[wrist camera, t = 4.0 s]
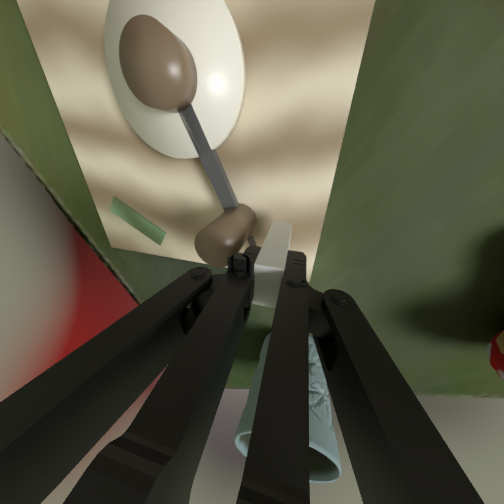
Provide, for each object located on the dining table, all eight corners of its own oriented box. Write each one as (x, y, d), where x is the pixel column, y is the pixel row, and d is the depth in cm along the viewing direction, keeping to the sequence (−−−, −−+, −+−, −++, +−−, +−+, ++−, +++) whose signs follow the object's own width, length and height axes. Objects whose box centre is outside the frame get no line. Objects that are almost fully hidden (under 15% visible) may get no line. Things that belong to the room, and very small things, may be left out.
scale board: (27, -45, 14) (-15, -73, 12) (398, -126, 9) (421, -193, 7) (123, 240, 26) (109, 247, 24) (309, 271, 21) (309, 283, 19)
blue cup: (259, 360, 32) (238, 460, 22) (258, 317, 27) (228, 421, 17) (323, 374, 29) (332, 493, 19) (333, 330, 25) (352, 459, 14)
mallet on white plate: (94, 40, 14) (-29, -21, 9) (201, -86, 10) (92, -327, 5) (206, 245, 20) (172, 279, 15) (297, 217, 16) (294, 250, 11)
